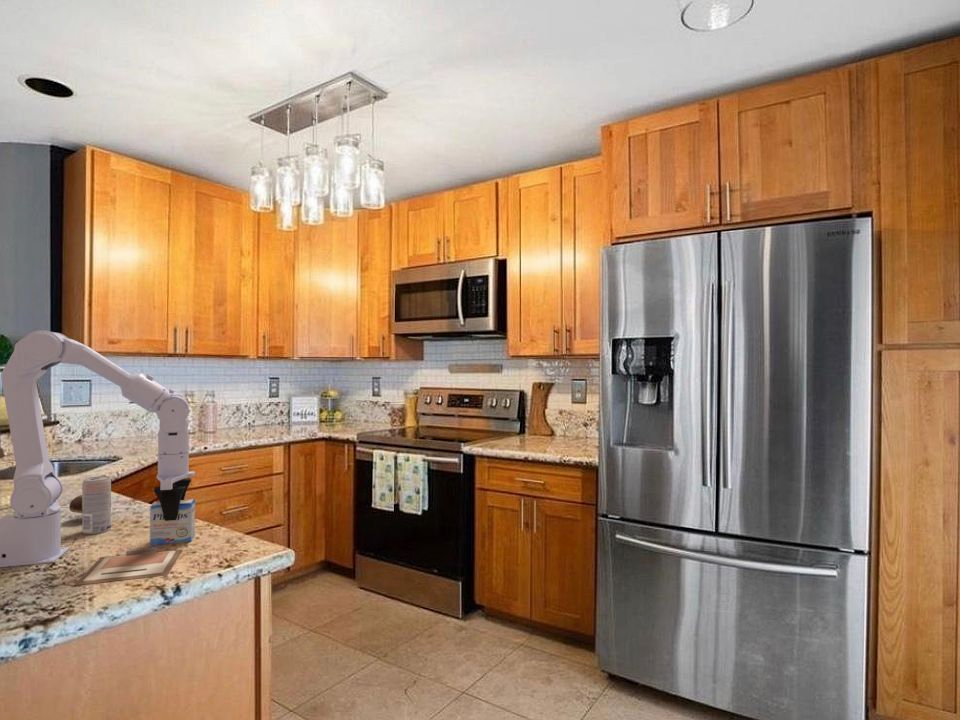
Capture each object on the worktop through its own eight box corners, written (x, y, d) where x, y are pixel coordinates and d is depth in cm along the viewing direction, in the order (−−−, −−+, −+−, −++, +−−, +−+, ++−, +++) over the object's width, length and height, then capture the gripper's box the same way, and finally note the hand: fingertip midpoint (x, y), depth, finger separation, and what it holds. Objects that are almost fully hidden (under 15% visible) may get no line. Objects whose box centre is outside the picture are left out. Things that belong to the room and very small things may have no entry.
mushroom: (115, 515, 140) (115, 490, 140) (94, 524, 132) (94, 498, 132) (82, 515, 140) (82, 490, 140) (59, 525, 132) (59, 498, 132)
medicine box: (149, 548, 116) (149, 505, 116) (154, 541, 120) (154, 500, 120) (191, 544, 118) (191, 502, 118) (195, 537, 123) (195, 497, 123)
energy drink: (106, 526, 131) (106, 474, 131) (114, 531, 127) (114, 478, 127) (78, 532, 127) (78, 478, 127) (86, 536, 123) (86, 482, 123)
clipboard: (73, 589, 95) (73, 579, 95) (101, 561, 108) (101, 552, 108) (167, 579, 99) (167, 569, 99) (182, 553, 113) (182, 544, 113)
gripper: (188, 457, 114) (188, 524, 114) (199, 446, 127) (199, 506, 127) (148, 459, 111) (148, 527, 111) (164, 448, 125) (164, 509, 125)
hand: (173, 516), depth 119 cm, fingers open, 4 cm apart
